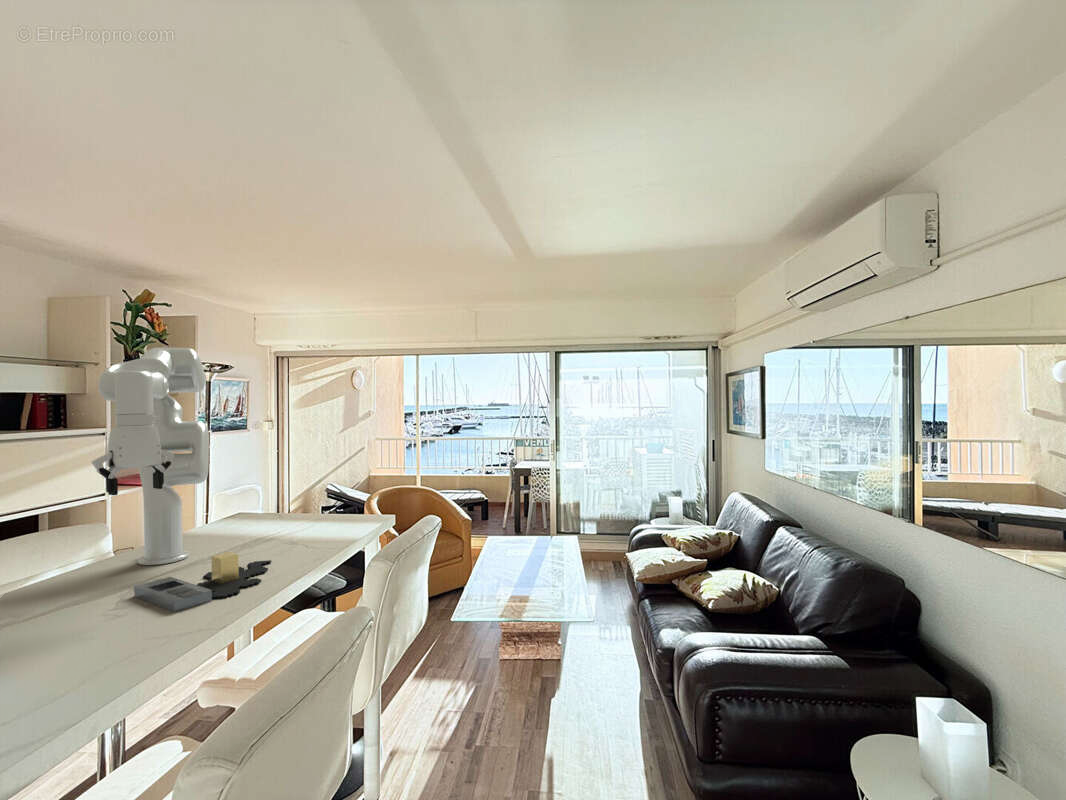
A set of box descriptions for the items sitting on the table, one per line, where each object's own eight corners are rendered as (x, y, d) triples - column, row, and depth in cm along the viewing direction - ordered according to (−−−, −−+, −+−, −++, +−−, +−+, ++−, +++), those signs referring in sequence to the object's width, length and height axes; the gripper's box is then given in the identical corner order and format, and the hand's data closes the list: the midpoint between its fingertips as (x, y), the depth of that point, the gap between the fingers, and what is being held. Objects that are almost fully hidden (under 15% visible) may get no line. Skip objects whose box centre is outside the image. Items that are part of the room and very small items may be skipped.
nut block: (212, 583, 140) (211, 556, 140) (229, 578, 144) (229, 552, 144) (221, 586, 138) (220, 558, 138) (238, 581, 142) (238, 554, 142)
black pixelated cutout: (219, 566, 156) (173, 604, 127) (219, 563, 156) (173, 600, 127) (279, 562, 159) (248, 597, 130) (278, 558, 159) (247, 593, 130)
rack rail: (134, 596, 131) (134, 585, 131) (170, 586, 138) (170, 576, 138) (175, 612, 121) (174, 600, 121) (212, 600, 127) (212, 589, 127)
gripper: (165, 419, 141) (166, 485, 141) (84, 423, 126) (86, 496, 126) (180, 420, 138) (182, 487, 138) (99, 423, 123) (101, 498, 123)
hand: (136, 491), depth 132 cm, fingers open, 9 cm apart
